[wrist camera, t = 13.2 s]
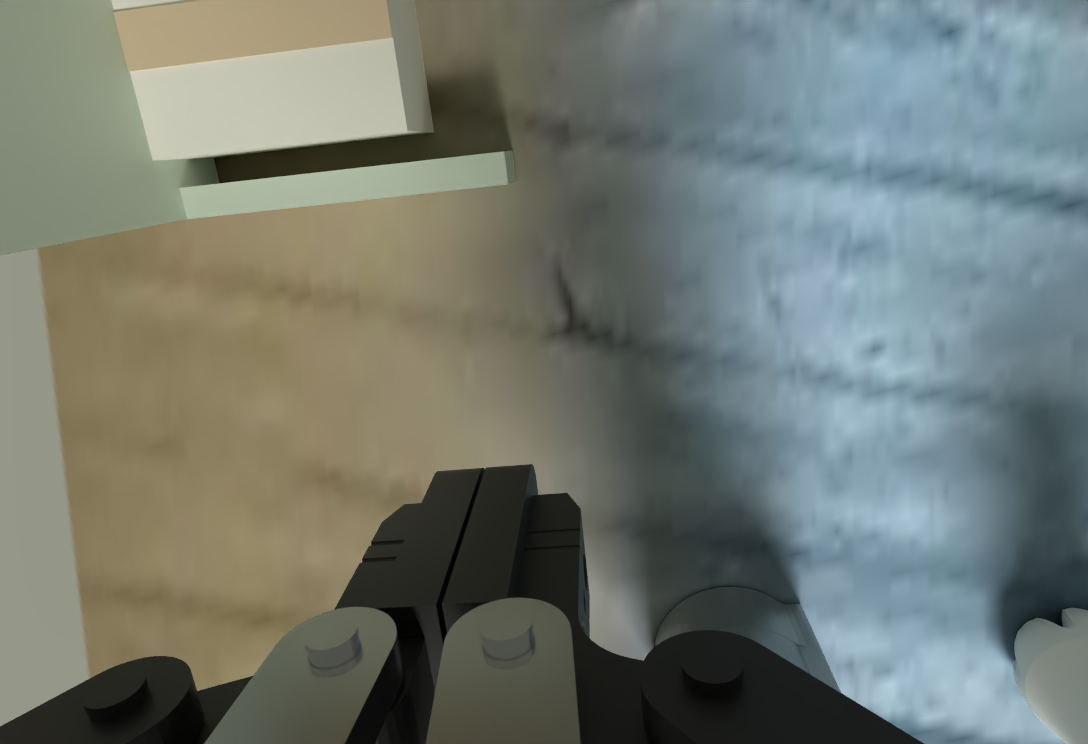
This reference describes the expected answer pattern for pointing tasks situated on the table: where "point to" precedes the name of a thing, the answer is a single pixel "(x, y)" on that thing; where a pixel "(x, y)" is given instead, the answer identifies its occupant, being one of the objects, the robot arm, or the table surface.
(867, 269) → the table surface
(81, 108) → the display stand
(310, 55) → the carton
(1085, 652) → the water bottle
